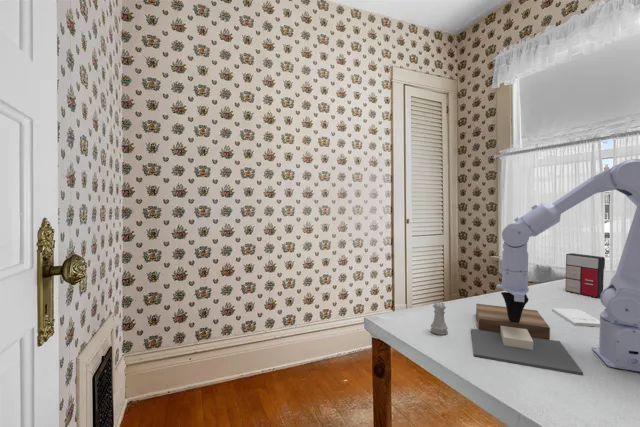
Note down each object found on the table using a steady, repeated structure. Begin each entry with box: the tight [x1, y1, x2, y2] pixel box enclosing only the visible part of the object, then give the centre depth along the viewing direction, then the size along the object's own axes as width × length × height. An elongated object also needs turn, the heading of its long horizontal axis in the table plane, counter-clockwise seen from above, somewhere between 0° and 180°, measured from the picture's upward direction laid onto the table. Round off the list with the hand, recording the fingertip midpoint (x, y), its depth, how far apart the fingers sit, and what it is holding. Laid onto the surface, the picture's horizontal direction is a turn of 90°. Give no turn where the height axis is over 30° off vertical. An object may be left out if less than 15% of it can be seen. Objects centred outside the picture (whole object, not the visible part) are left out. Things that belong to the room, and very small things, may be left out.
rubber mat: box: [470, 328, 584, 376], centre depth 75 cm, size 16×20×1 cm
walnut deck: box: [475, 303, 551, 340], centre depth 89 cm, size 14×16×4 cm
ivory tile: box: [500, 326, 533, 350], centre depth 79 cm, size 8×6×2 cm
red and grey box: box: [564, 252, 606, 299], centre depth 121 cm, size 11×4×15 cm, turn 25°
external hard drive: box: [551, 307, 600, 328], centre depth 95 cm, size 2×8×12 cm
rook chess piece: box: [430, 301, 449, 336], centre depth 85 cm, size 4×4×8 cm
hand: (513, 321), depth 82 cm, fingers closed
